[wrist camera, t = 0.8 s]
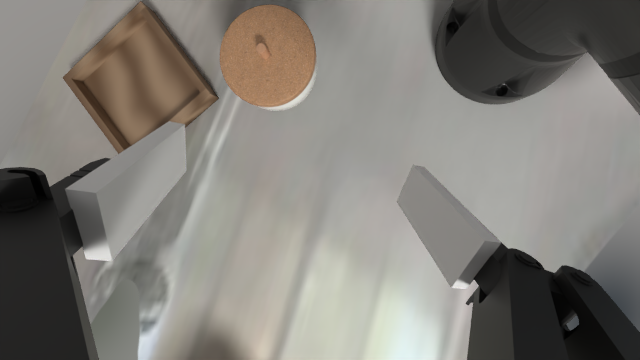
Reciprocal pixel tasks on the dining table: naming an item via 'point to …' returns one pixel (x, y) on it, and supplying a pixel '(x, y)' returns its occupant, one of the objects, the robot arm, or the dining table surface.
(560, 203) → the dining table surface
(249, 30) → the lidded jar
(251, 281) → the dining table surface
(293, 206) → the dining table surface
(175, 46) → the walnut tray
